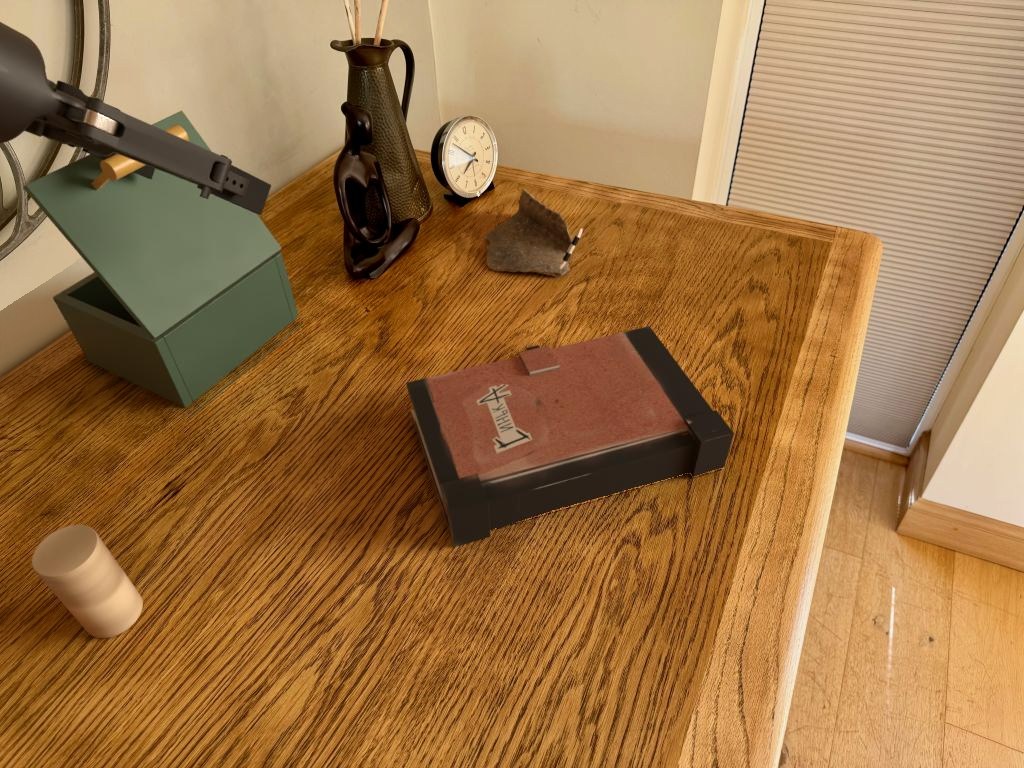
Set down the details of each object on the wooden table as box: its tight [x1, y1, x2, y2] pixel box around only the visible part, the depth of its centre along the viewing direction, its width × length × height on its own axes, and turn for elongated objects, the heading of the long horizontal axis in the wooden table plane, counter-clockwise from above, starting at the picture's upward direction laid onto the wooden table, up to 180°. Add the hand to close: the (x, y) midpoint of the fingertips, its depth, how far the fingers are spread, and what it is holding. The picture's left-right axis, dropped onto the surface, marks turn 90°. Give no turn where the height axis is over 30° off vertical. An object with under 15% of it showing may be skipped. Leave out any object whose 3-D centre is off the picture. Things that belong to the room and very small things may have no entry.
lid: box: [23, 110, 282, 340], centre depth 67 cm, size 16×17×6 cm
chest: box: [52, 251, 302, 418], centre depth 79 cm, size 15×17×10 cm
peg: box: [31, 524, 144, 639], centre depth 55 cm, size 4×4×9 cm
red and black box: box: [405, 325, 735, 548], centre depth 69 cm, size 26×18×5 cm
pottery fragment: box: [485, 188, 584, 278], centre depth 95 cm, size 18×11×5 cm
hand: (206, 181), depth 64 cm, fingers open, 13 cm apart
